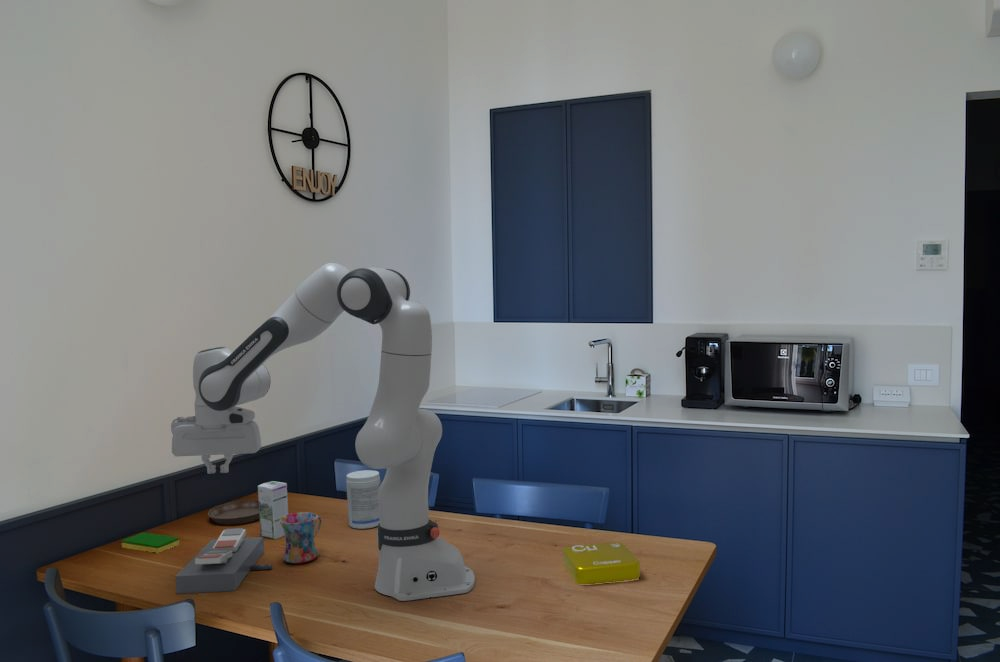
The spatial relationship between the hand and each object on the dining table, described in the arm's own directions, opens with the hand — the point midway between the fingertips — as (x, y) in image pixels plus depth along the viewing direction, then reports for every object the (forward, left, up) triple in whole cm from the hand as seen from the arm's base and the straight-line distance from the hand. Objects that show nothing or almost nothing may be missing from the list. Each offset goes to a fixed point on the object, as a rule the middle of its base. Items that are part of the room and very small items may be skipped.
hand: (218, 472), depth 181 cm
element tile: (-90, +12, -25) cm, 94 cm away
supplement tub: (-30, -32, -24) cm, 50 cm away
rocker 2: (0, +6, -19) cm, 20 cm away
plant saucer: (+9, -45, -25) cm, 52 cm away
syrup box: (-6, -26, -24) cm, 36 cm away
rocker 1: (0, -6, -19) cm, 20 cm away
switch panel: (-3, 0, -24) cm, 24 cm away
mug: (-18, -7, -24) cm, 31 cm away
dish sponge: (+26, -22, -25) cm, 42 cm away
